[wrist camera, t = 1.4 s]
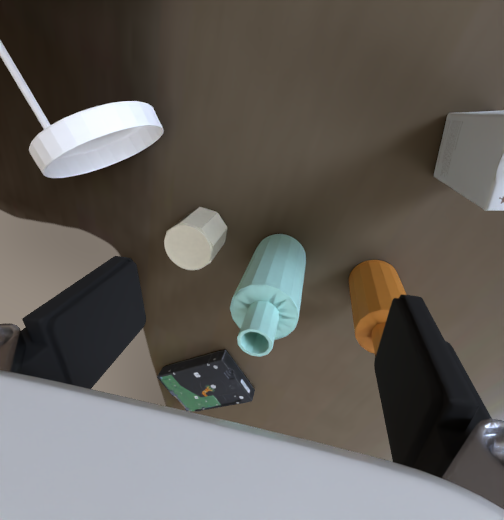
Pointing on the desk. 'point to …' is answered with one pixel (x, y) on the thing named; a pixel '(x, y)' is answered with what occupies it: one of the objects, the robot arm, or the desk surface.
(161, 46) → the desk surface
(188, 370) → the disk drive
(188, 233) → the cream short cylinder
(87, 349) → the robot arm
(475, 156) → the cosmetic box
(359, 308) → the amber bottle
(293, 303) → the bottle
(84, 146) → the desk lamp
